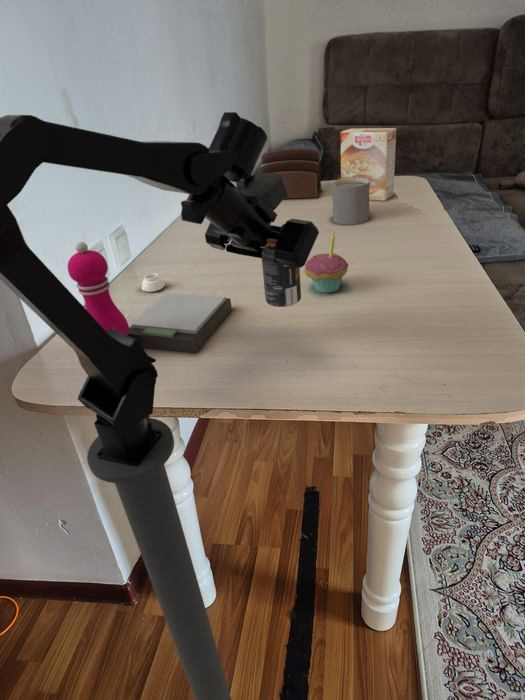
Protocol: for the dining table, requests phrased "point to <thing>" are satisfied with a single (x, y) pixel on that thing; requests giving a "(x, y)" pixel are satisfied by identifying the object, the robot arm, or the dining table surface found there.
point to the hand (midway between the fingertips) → (286, 260)
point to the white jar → (152, 283)
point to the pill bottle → (279, 280)
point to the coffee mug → (350, 200)
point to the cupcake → (326, 270)
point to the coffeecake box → (370, 158)
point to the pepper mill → (96, 288)
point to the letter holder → (295, 170)
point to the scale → (180, 321)
